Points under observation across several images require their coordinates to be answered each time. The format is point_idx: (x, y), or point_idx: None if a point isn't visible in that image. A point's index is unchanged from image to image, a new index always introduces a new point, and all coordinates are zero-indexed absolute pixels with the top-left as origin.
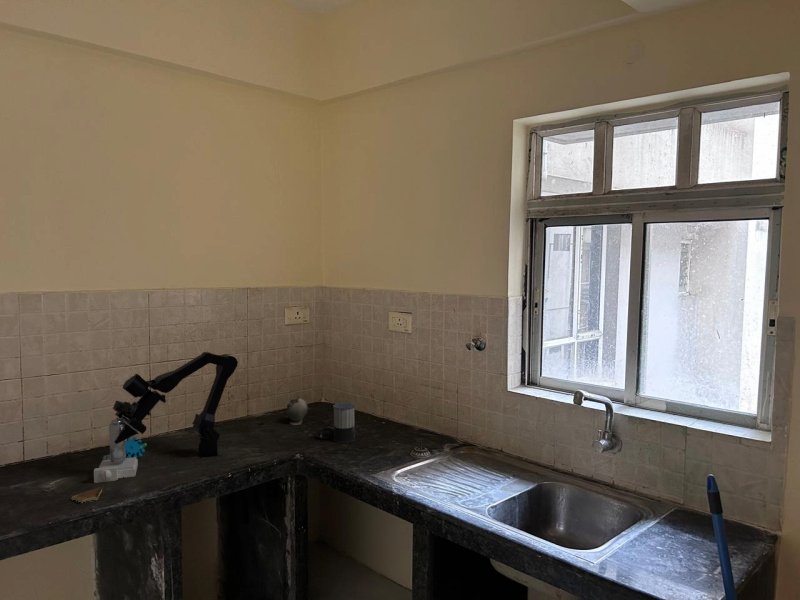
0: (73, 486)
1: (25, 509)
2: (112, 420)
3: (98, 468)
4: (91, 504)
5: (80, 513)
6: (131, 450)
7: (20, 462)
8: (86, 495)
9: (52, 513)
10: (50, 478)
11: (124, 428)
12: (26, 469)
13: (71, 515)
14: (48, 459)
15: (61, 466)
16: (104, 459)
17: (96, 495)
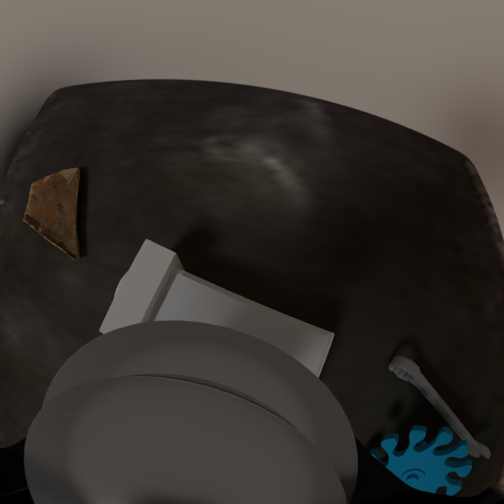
0: (182, 197)
1: (120, 99)
2: (277, 458)
3: (161, 265)
4: (20, 203)
5: (8, 176)
6: (395, 472)
7: (476, 177)
8: (45, 195)
9: (53, 134)
10: (325, 171)
11: (7, 452)
12: (431, 164)
13: (16, 162)
14: (483, 226)
15: (426, 231)
16: (395, 362)
17: (30, 218)
